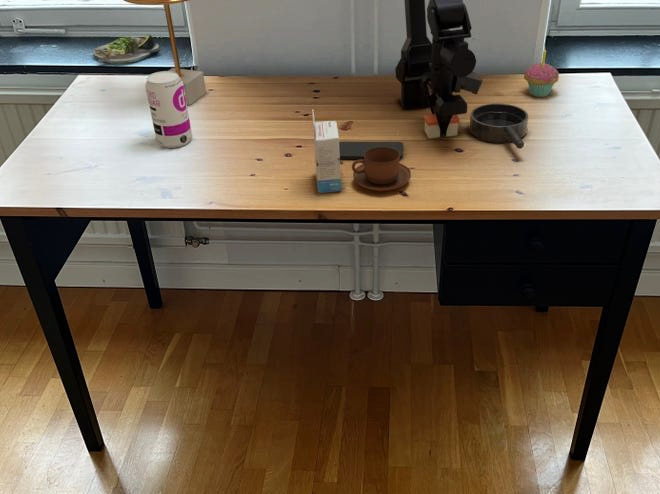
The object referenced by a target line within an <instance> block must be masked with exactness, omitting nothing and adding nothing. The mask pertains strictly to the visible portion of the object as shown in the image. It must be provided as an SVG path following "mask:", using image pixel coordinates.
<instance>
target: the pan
mask: <svg viewBox="0 0 660 494" xmlns="http://www.w3.org/2000/svg"><path fill="white" fill-rule="evenodd" d="M528 124H529V113H528V112H527V111H526V110H525V109H524V108H521V107H520V106H517V105H515V104H514V105H513V104H509V103H486V104H481V105H479V106H476V107H474V108H473V109H472V110H471V112H470V114H469V125H468V126H469V128H468V129H469V132H470V134H472V135H473V136H474V137H475V138H477V139H478V140H481V141H482V142H483V141H484V142H487V143H494V144H497V143H498V144H505V143H513V142H512V140H511V139H510V138H509V136H508V135H507V134H506V132H505V129H506V128H507V127H512V128H513V130H514V131H515V132H516V133H517V135H518V136H519V137H520V138H521V139H522V138H523V137H524V136H525V135H526V133H527V131H528Z"/></svg>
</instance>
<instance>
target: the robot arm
mask: <svg viewBox="0 0 660 494" xmlns="http://www.w3.org/2000/svg"><path fill="white" fill-rule="evenodd" d="M403 2H404V14H405V15H404V17H405V29H406V39H405V41H404V43H403V44H402V47H401V49H400V59H399V60H398V63H397V65H396V67H395V71H394V72H395V78H396V80H397V81H398V82H400V88H401V89H400V97H399V98H398V100H399V102H400V104H401V106H402V107H403V109H404V110H413V109H421V108H422V109H423V108H429V109H430V112H431V115H432V114H435V116H436V119H437V122H438V125H439V128H440V131H441V133H442V134H443V133H446V132H447V129H448V126H449V123H450V121H451V118H452V116H453V115H457V116H458V115H466V114H467V113H468V103H467V102H466V100H465V99H464V97H463V96H462V95H461V94H459V93H461V91H466V92H469V93H472V95H478V93H479V90H480V89H481V86H482V83H483V82H484V80H483V79H482V77H481V76H480V75H479V73H476V72H475V71H474V70H475V68H476V64H477V59H476V55H475V53H474V52H473V51H472V50H471V49H470V48H469V43H468V41H466V40H465V39H470V38H471V39H472V33H471V32H472V31H471V30H472V24H471V20H470V16H469V12H468V9H467V6H466V4H465V3H464V1H463V0H428V4H427V7H426V0H404V1H403ZM427 24H428V27H429V30H430V34H431V36H432V37H431V38H432V39H431V40H430V38H429V37H428V33H427V31H428V30H427ZM454 93H455V94H454ZM457 93H458V94H457Z"/></svg>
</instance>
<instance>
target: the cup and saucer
mask: <svg viewBox="0 0 660 494" xmlns="http://www.w3.org/2000/svg"><path fill="white" fill-rule="evenodd" d="M400 161H401V159H400V154H399V152H398V151H397V150H395V149H393V148H389V147H375V148H371V149H369V150H367V151H366V152H365V153H364V159H355V161H353V162H352V164H351V170H352V171H353V172H352V178H353V180H354V182H355V183H356V184H358V185H359V186H361V188H364V189H367V190H369V191H378V192H385V191H386V192H387V191H393V190H396V189H398V188H399V189H400V188H402V187H403V186H404V185H406V184H407V183H408V182H409V181H410V179H411V175H412V173H411V172H412V171H411V170H410V168H409V167H408V166H406V165H405V164H403V163H401V162H400ZM357 164H360V165H359V166H356V165H357Z"/></svg>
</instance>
